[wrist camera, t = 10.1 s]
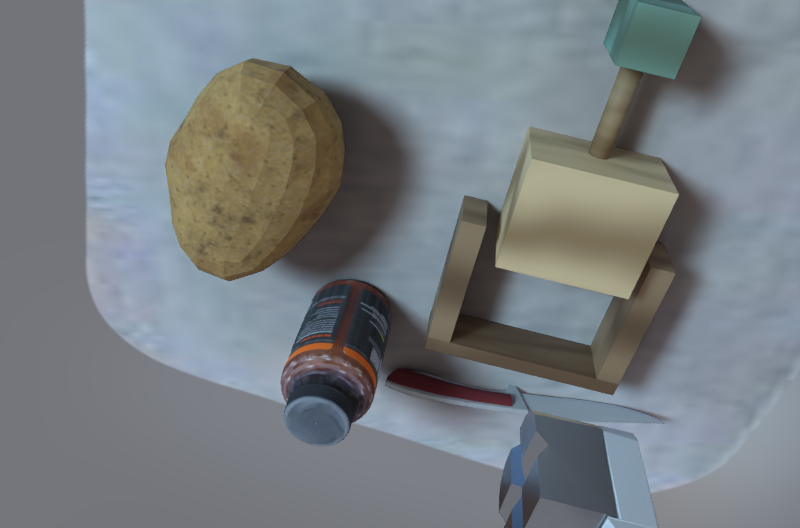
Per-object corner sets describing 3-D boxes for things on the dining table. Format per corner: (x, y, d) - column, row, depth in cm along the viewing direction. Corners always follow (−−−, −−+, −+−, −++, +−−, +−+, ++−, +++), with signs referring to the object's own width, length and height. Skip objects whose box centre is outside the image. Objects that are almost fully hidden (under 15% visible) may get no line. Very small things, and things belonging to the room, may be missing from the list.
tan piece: (464, 195, 42) (461, 220, 39) (663, 244, 42) (675, 273, 39) (429, 318, 47) (424, 348, 44) (605, 361, 47) (612, 395, 44)
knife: (388, 373, 51) (382, 400, 48) (389, 360, 50) (383, 386, 48) (657, 411, 49) (665, 440, 47) (661, 398, 49) (670, 427, 46)
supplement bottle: (296, 310, 49) (245, 420, 39) (344, 260, 46) (302, 365, 36) (360, 356, 50) (325, 473, 40) (410, 310, 47) (386, 424, 38)
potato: (174, 201, 45) (116, 261, 38) (235, 7, 38) (177, 39, 31) (305, 262, 46) (271, 331, 40) (388, 86, 39) (364, 133, 32)
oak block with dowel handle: (577, -26, 35) (587, -9, 30) (726, 10, 35) (757, 31, 30) (496, 226, 43) (495, 266, 39) (616, 255, 43) (628, 299, 39)
